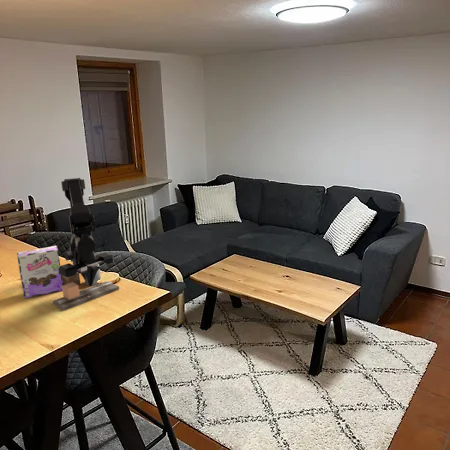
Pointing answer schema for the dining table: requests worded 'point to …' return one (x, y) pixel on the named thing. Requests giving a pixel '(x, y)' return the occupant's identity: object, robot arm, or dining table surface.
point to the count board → (86, 295)
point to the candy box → (40, 271)
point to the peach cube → (70, 290)
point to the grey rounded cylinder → (96, 277)
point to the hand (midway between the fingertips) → (89, 286)
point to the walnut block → (71, 279)
